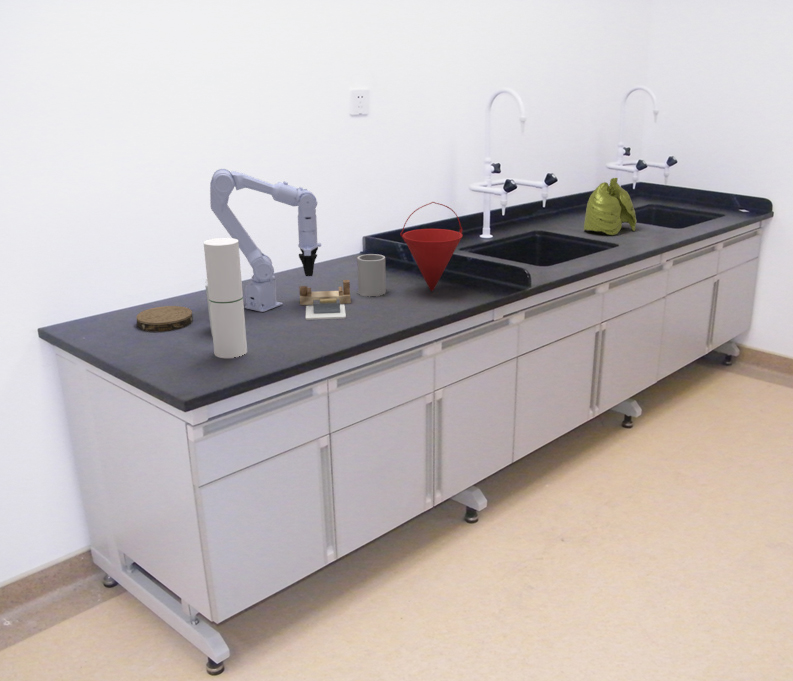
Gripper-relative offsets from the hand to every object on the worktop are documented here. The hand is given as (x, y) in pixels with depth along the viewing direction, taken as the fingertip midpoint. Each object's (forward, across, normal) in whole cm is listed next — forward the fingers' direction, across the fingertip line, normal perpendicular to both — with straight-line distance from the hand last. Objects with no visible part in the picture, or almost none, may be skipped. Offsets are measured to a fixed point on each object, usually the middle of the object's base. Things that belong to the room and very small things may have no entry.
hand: (309, 272), depth 239 cm
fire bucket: (+10, +9, -40) cm, 42 cm away
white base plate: (+10, -11, -5) cm, 16 cm away
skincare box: (+10, -24, +25) cm, 36 cm away
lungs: (+10, +94, -130) cm, 161 cm away
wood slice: (+11, -16, +42) cm, 47 cm away
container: (+10, -42, +20) cm, 48 cm away
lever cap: (+9, -11, -5) cm, 15 cm away
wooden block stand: (+10, +1, -5) cm, 11 cm away
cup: (+10, +9, -20) cm, 24 cm away
